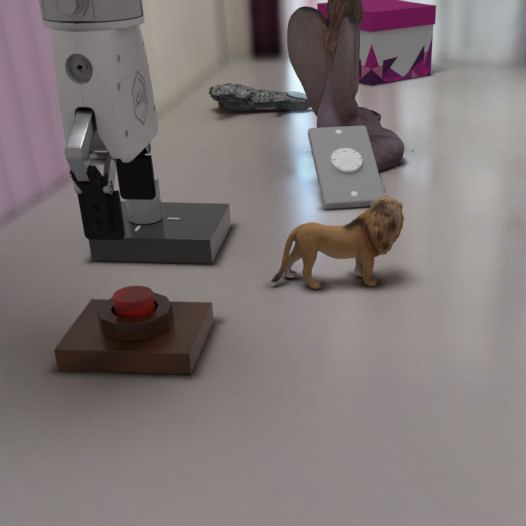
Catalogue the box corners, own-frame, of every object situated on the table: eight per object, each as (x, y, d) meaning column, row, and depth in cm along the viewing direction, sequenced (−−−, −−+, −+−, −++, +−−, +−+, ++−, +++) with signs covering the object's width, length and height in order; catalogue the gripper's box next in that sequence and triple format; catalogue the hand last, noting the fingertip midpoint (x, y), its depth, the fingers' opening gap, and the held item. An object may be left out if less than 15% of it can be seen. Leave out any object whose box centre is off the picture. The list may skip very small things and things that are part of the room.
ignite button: (109, 319, 72) (107, 302, 71) (121, 301, 75) (119, 284, 74) (149, 320, 72) (146, 303, 71) (159, 302, 75) (157, 285, 74)
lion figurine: (394, 264, 92) (396, 188, 87) (408, 283, 87) (412, 204, 83) (267, 277, 88) (263, 199, 84) (275, 297, 84) (272, 216, 80)
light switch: (325, 199, 106) (308, 122, 113) (322, 228, 111) (305, 153, 118) (387, 195, 107) (366, 119, 115) (381, 224, 112) (361, 150, 120)
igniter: (58, 370, 71) (49, 331, 69) (94, 318, 80) (88, 282, 78) (191, 374, 71) (187, 335, 69) (213, 322, 79) (210, 285, 77)
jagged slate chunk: (314, 115, 147) (315, 84, 146) (205, 108, 145) (205, 77, 144) (311, 118, 163) (312, 91, 162) (212, 113, 161) (212, 85, 160)
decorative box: (378, 63, 198) (380, -3, 191) (432, 75, 186) (436, 5, 178) (318, 72, 188) (317, 3, 180) (370, 85, 175) (372, 12, 168)
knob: (160, 224, 94) (154, 180, 91) (125, 224, 94) (119, 180, 91) (164, 212, 97) (159, 169, 95) (131, 212, 97) (125, 170, 94)
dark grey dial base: (91, 261, 92) (87, 235, 90) (122, 223, 102) (119, 199, 101) (212, 264, 91) (209, 238, 90) (231, 226, 102) (229, 202, 100)
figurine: (419, 169, 123) (428, -8, 110) (331, 181, 118) (329, -3, 105) (369, 140, 137) (372, -20, 124) (288, 150, 132) (283, -16, 119)
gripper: (105, 19, 53) (138, 258, 61) (168, -9, 68) (188, 186, 76) (-6, 18, 53) (42, 256, 62) (81, -10, 68) (111, 185, 77)
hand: (123, 217), depth 69 cm, fingers open, 9 cm apart
